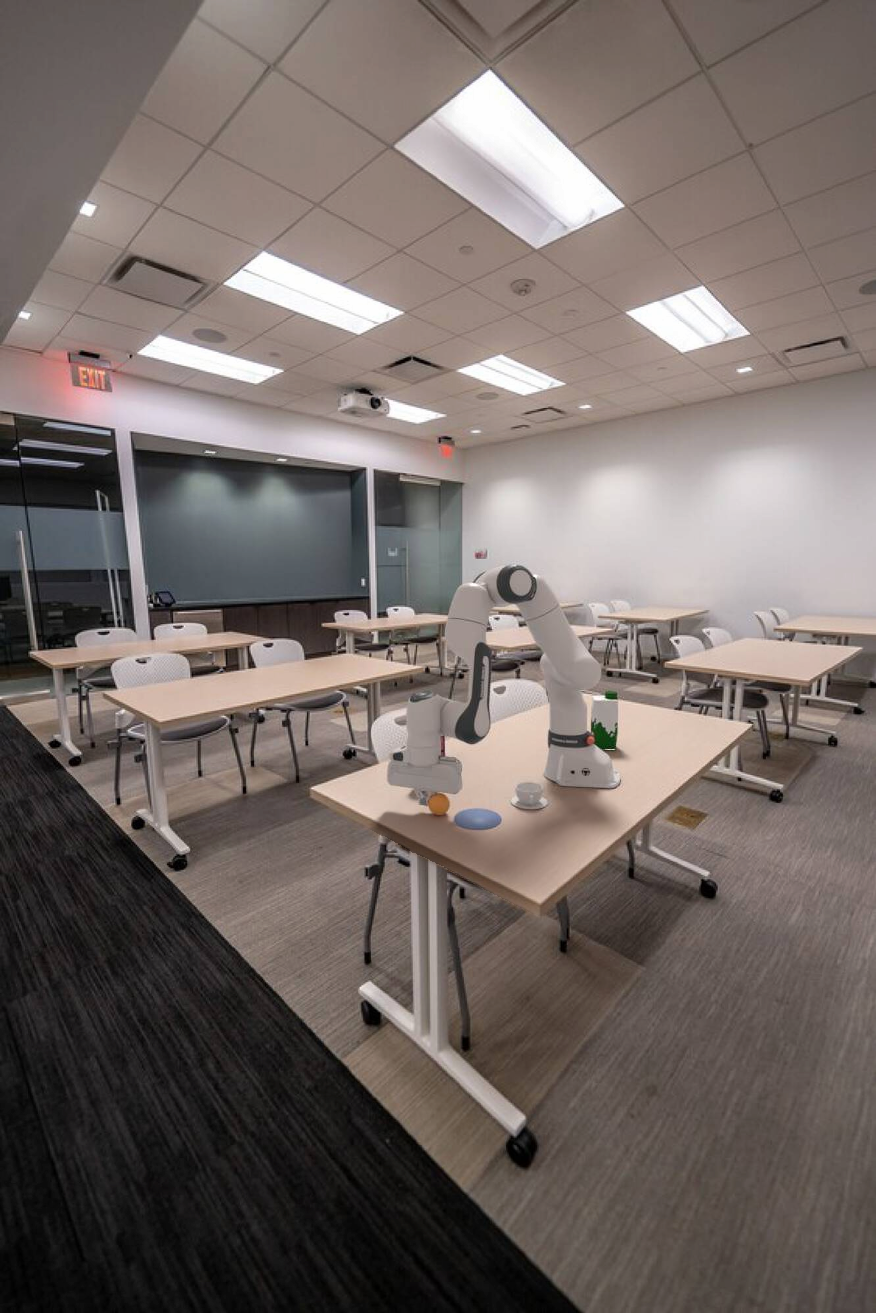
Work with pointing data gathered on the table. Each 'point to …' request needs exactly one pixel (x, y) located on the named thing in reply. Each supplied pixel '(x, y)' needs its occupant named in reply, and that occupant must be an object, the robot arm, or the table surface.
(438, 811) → the ball
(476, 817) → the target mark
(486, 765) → the table surface
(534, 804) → the teacup
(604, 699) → the milk carton
